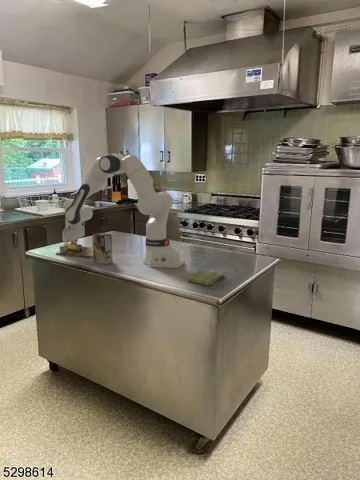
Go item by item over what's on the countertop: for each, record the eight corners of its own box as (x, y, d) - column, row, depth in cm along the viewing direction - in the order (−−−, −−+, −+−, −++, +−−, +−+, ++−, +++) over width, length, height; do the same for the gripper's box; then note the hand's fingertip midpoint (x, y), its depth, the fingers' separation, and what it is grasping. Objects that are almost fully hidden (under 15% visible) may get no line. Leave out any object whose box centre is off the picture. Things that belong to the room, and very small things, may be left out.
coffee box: (113, 261, 202) (112, 234, 198) (106, 264, 197) (104, 236, 193) (100, 259, 206) (99, 232, 202) (93, 262, 201) (91, 234, 197)
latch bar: (82, 251, 219) (82, 244, 218) (78, 252, 216) (78, 245, 215) (68, 247, 227) (68, 241, 226) (64, 248, 225) (64, 242, 224)
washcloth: (225, 276, 180) (225, 270, 179) (209, 287, 165) (209, 281, 165) (202, 272, 187) (202, 266, 186) (185, 282, 172) (185, 276, 171)
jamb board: (105, 250, 226) (105, 242, 224) (91, 258, 209) (91, 249, 208) (72, 247, 232) (71, 239, 231) (55, 254, 215) (55, 246, 214)
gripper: (68, 228, 213) (69, 250, 216) (85, 222, 232) (87, 242, 235) (58, 227, 214) (60, 250, 218) (77, 221, 234) (78, 242, 237)
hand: (74, 246), depth 227 cm, fingers closed
